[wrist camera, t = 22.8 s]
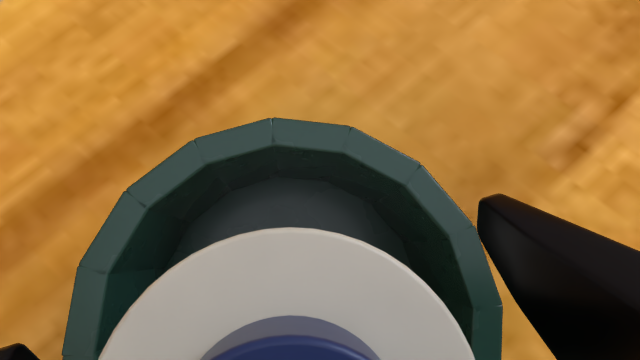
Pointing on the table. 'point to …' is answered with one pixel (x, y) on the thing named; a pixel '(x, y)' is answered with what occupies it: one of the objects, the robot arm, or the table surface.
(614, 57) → the table surface
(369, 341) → the bottle
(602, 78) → the table surface
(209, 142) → the tin
